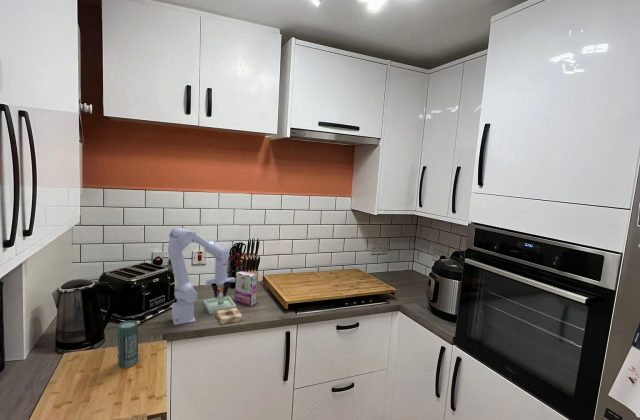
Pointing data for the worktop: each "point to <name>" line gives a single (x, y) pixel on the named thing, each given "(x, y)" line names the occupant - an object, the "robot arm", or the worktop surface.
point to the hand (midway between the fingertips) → (220, 296)
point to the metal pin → (220, 295)
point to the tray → (213, 305)
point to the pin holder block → (229, 315)
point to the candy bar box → (246, 288)
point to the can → (127, 344)
